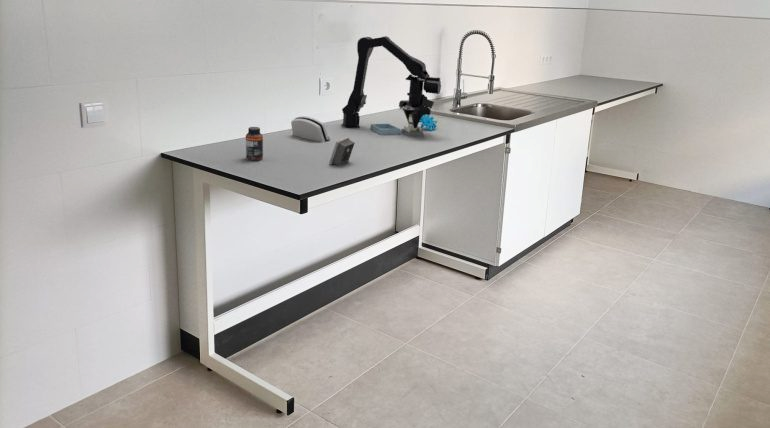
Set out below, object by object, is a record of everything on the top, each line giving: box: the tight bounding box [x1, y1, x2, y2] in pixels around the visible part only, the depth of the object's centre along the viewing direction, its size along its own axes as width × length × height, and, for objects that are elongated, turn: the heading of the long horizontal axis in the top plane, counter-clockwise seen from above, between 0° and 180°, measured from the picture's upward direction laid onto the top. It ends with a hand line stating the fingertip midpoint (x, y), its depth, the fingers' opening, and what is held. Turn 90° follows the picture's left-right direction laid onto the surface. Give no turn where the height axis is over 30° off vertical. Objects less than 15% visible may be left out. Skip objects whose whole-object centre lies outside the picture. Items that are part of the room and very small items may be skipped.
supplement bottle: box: [245, 126, 264, 162], centre depth 233 cm, size 6×6×11 cm
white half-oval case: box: [291, 115, 331, 143], centre depth 270 cm, size 17×5×10 cm, turn 55°
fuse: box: [407, 114, 419, 131], centre depth 289 cm, size 4×4×7 cm
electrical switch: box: [329, 136, 356, 167], centre depth 236 cm, size 9×5×9 cm, turn 158°
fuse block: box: [401, 126, 424, 138], centre depth 290 cm, size 7×7×3 cm
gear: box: [419, 114, 438, 132], centre depth 304 cm, size 11×6×10 cm
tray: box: [370, 123, 401, 136], centre depth 292 cm, size 9×11×2 cm
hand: (412, 127), depth 289 cm, fingers closed on fuse, 4 cm apart
